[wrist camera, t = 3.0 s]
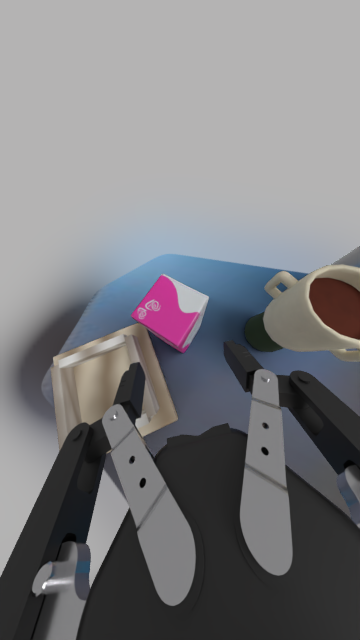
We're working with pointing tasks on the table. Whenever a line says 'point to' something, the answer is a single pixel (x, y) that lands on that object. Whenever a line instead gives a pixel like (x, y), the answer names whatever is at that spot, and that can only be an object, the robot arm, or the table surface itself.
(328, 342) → the character mug
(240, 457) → the robot arm
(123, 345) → the plate
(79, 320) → the table surface
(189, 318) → the supplement box
